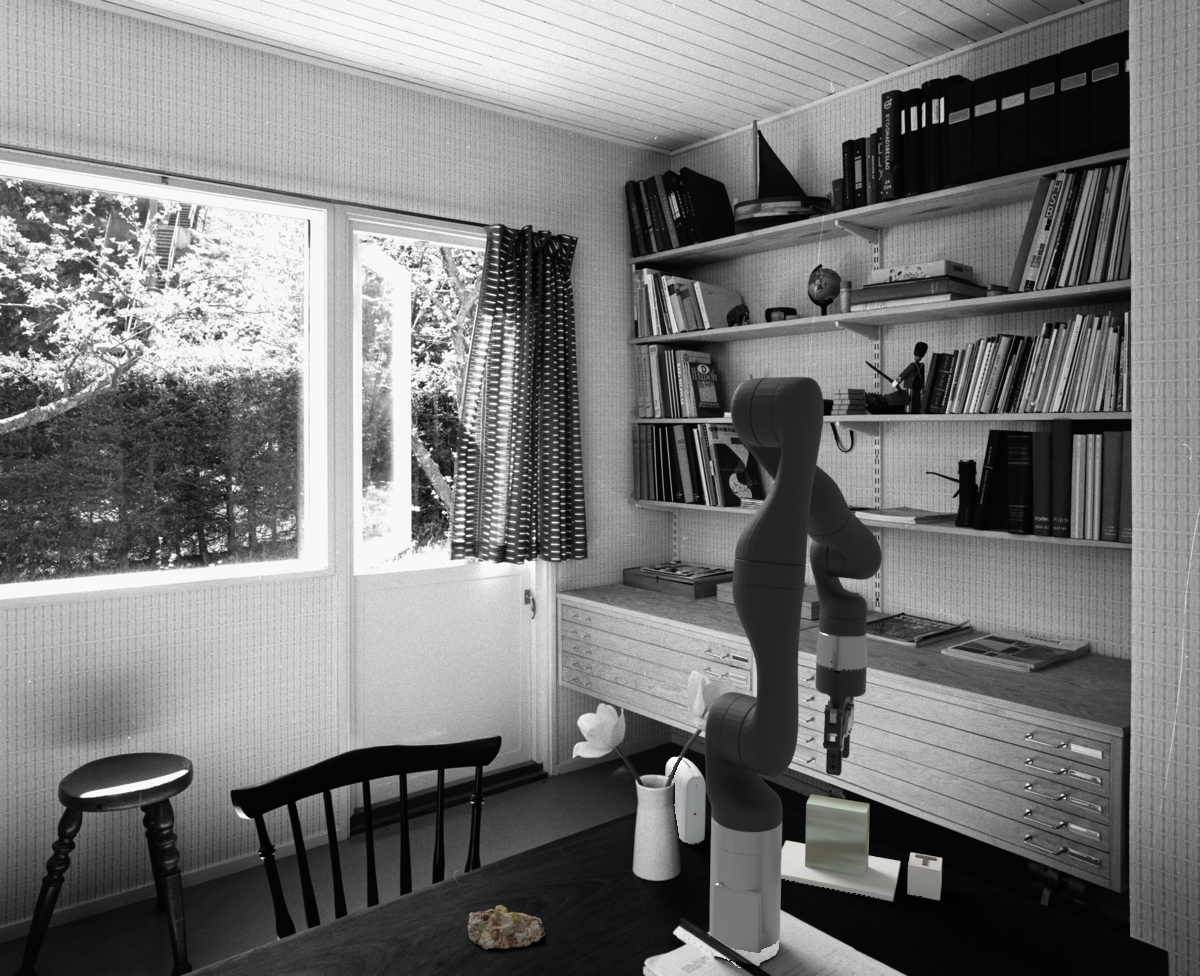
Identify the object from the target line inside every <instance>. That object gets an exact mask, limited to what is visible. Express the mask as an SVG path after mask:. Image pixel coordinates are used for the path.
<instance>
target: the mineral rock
mask: <svg viewBox="0 0 1200 976" xmlns="http://www.w3.org/2000/svg"><path fill="white" fill-rule="evenodd" d="M468 917H469V918H468V921H467V932H468V939H469V940H470V941H472V942H473V943H474V944H476V945H479V946H480V947H481V948H482V949H484V950H488V949H489V950H490V949H501V950H504V949H505V950H506V949H511V948H520V947H521V948H522V947H528V946H530V945H531V944H532V943H533V942H539V941H540V939H541V938H544V937H545V934H546V933H545V926H543V921H542V920H541V918H539V917H537V916H536V915H535V916H534V915H533V916H531V915H528V914H526V913H524V912H514V911H511V912H509V910H508V908H507V907H506V906H504V905H502V904H499V905H496V906H495V908H494V909H492V908H489V909H488V910H484V911H482V910H479V911H476V912H470V913H469V915H468Z"/></svg>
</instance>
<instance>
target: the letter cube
mask: <svg viewBox="0 0 1200 976" xmlns="http://www.w3.org/2000/svg"><path fill="white" fill-rule="evenodd" d="M942 874H943V857H938V856H932V855H927V854H921V853H916V852H910V854H909V860H908V864H907V892H906V894H907V895H909V896H914V895H915V896H914V897H919V896H922V897H921V898H926V899H930V900H936V901H941V892H942Z"/></svg>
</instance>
